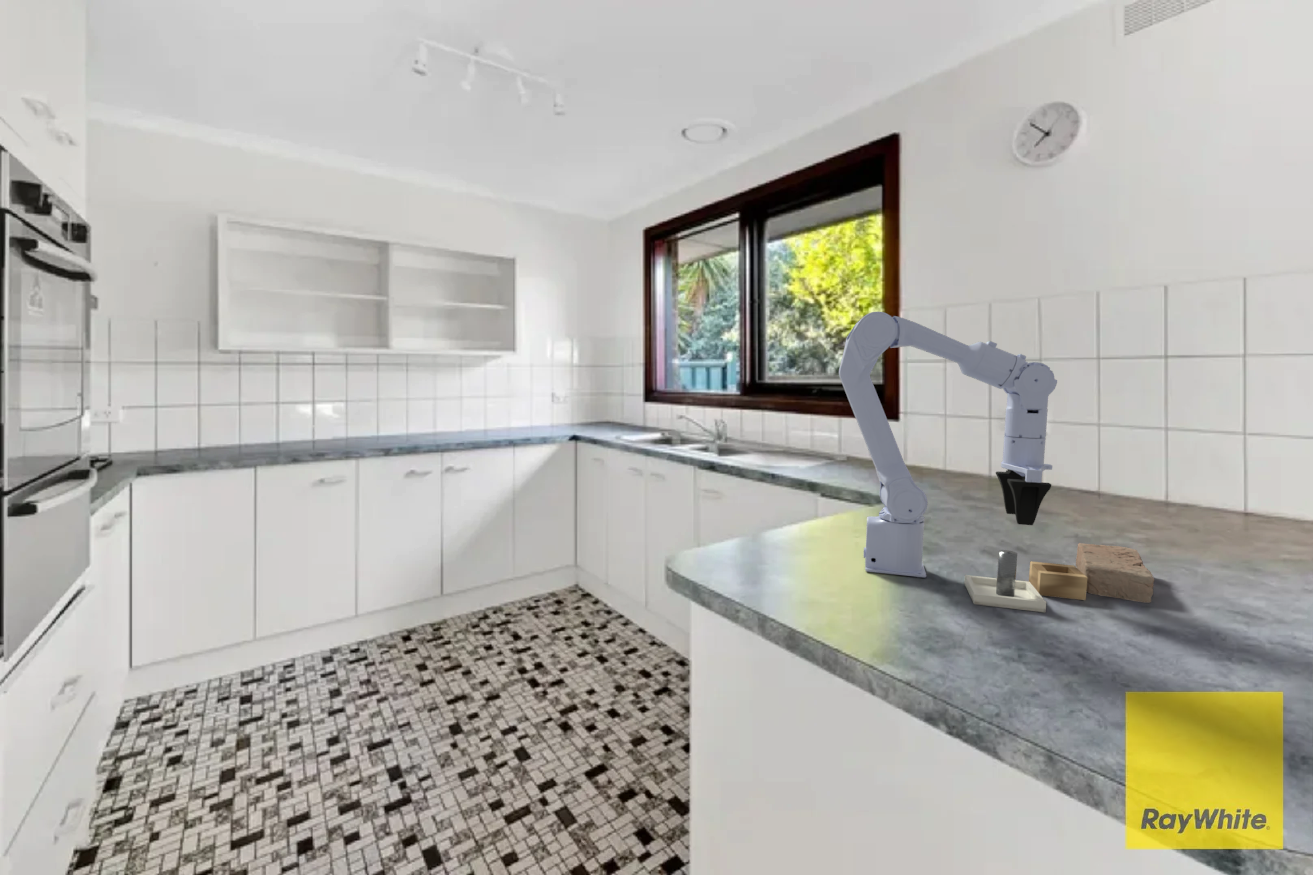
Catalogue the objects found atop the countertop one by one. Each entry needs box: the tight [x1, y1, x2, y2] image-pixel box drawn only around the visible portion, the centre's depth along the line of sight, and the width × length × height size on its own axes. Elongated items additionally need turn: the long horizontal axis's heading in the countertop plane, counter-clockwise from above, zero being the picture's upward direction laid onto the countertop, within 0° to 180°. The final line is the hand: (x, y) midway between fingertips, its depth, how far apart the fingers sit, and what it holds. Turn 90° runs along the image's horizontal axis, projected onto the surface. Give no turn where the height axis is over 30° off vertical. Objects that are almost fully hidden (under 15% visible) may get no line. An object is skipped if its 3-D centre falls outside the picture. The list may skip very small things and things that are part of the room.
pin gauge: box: [996, 549, 1018, 597], centre depth 88 cm, size 2×2×6 cm
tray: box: [963, 574, 1047, 613], centre depth 88 cm, size 9×9×2 cm
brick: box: [1075, 542, 1155, 604], centre depth 95 cm, size 17×8×5 cm, turn 149°
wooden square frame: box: [1028, 561, 1087, 601], centre depth 91 cm, size 6×6×4 cm
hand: (1019, 518), depth 96 cm, fingers open, 7 cm apart
